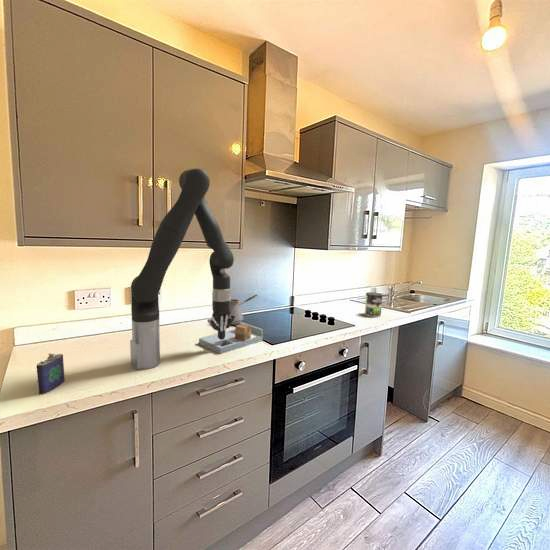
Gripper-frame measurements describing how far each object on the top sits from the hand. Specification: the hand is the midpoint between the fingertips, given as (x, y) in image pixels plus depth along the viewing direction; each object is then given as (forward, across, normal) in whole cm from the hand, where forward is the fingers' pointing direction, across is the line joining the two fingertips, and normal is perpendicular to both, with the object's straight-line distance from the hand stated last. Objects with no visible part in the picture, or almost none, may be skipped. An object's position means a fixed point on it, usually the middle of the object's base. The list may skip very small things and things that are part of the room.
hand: (221, 338), depth 128 cm
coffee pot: (+5, +32, +26) cm, 42 cm away
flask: (+4, -57, +9) cm, 58 cm away
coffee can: (+6, +109, -15) cm, 110 cm away
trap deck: (+5, +9, +4) cm, 11 cm away
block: (+2, +11, -1) cm, 12 cm away
